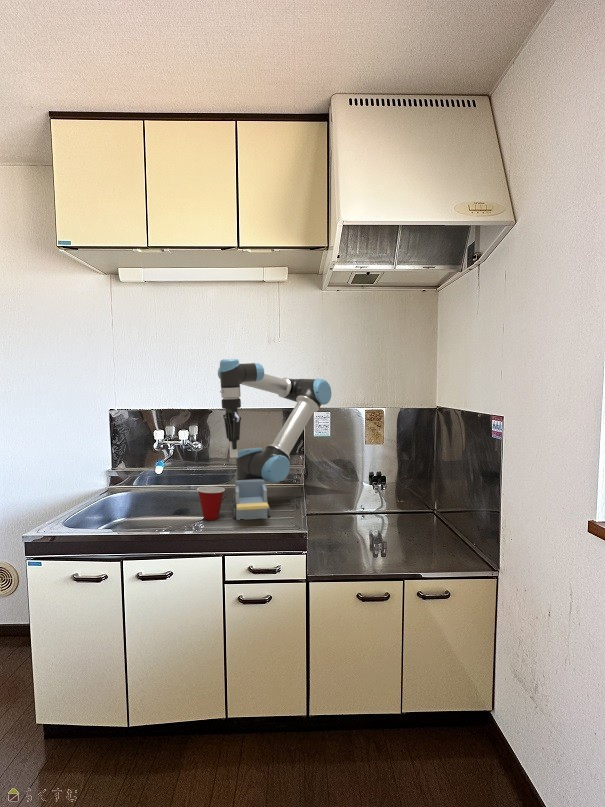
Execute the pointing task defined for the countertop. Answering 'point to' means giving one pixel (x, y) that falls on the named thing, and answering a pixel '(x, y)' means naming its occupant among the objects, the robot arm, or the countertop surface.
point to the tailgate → (252, 506)
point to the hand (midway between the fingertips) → (233, 456)
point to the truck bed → (250, 498)
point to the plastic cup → (210, 501)
